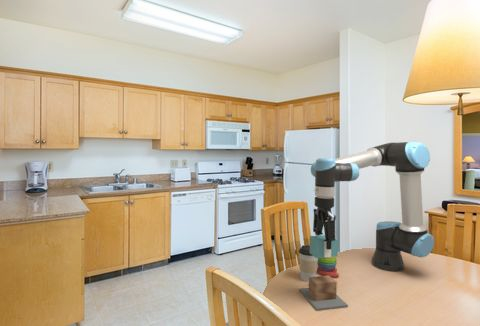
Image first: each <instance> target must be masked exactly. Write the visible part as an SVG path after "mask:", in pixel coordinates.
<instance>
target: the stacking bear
mask: <svg viewBox="0 0 480 326" xmlns="http://www.w3.org/2000/svg"><path fill="white" fill-rule="evenodd" d="M337 259H338V258H337V257H327V258H318V264H317V271H316V274H317V275H320V276H328V275H329V276H330V277H331V278H333V279H334V278H335V279H337V278H339V276H340V275H339V273H338V269H337V267H336V266H337Z"/></svg>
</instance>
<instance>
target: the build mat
mask: <svg viewBox="0 0 480 326" xmlns="http://www.w3.org/2000/svg"><path fill="white" fill-rule="evenodd" d="M298 291H299V292H300V294H302V295H303V297H304V298H305V299H306V300H307V301H308V303H310V305H311V306H312V307H313V309H315V311H317V312H318V311H319V312H320V311H327V310H335V309H345V308H349V304H347V303H346V302H345V301H344V299H342V298H341V297H340V296H339V295H337V294H336V299H332V300H323V301H315V300H314V299H313V298H312V297H311V296H310V295H309V287H302V288H298Z"/></svg>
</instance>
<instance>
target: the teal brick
mask: <svg viewBox="0 0 480 326" xmlns="http://www.w3.org/2000/svg"><path fill="white" fill-rule="evenodd" d="M324 240H325V234H322V235H320V236H316V235H309V246H310V254H312V255H313V256H314V257H315V258H327V257H324ZM338 241H339V239H338V238H337V237H335V241H332V242H331V257H336V258H337V257H338V253H339V252H338V244H339V243H338Z"/></svg>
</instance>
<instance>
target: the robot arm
mask: <svg viewBox="0 0 480 326" xmlns="http://www.w3.org/2000/svg"><path fill="white" fill-rule="evenodd" d="M430 161H431V154H430V151H429V149H428V147H427V146H426V145H425V144H424V143H422V142H419V141H418V142H416V141H406V142H405V141H404V142H402V141H401V142H387V143H384V144H380V145H376V146H373V147H369V148H367V150H365V151H361V152H357V153H354V154H353V153H352V154H350V155H344V156H342V157H338V158H337V157H336V158H331V157H329V158H326V157H325V158H319V157H318V158H317V159H316V160H315V162H313V163H312V164H311V166H310V174H311V175H312V177H314V178H315V179H314V181H315V182H314V195H315V197H314V206H315V207H316V208H313V228H312V232H313V233H314V234H315V235H314V236H320V235H325V240H324V257H331V242H332V241H335V238H336V218H337V216H336V215H335V214H332V208H334V207H335V198H334V197H335V184H336V182H349V183H350V182H352V181H353V182H354V181H356V180H357V179H358V178H359V176H360V169H363V168H368V167H374V168H375V167H380V166H381V167H382V166H385V167H389V166H390V167H395V168H394V169H395V170H394V171H395V173H397V174H398V175H399V188H400V189H399V192H400V206H401V221H402V223H401V222H399V221H390V220H389V221H387V220H386V221H378V223H376V228H375V250H374V253H373V256H372V258H371V265H373V266H374V267H376V268H378V269H380V270H384V271H388V272H401V271H404V269H405V263H404V260H403V256H402V254H401V253H406V254H408V255H411V256H413V257H417V258H422V259H423V258H426V257H428V256H429V255H430V254H431V252H432V250H433V249H434V245H435V239H434V236H433V235H432V234H430V233H428V227H427V226H426V225H425V224H424V215H423V214H424V213H423V212H424V211H423V195H422V193H423V192H422V174H423V172H425V168H427V167H428V166H429V164H430Z"/></svg>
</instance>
